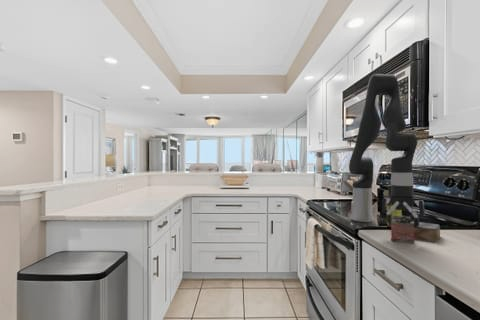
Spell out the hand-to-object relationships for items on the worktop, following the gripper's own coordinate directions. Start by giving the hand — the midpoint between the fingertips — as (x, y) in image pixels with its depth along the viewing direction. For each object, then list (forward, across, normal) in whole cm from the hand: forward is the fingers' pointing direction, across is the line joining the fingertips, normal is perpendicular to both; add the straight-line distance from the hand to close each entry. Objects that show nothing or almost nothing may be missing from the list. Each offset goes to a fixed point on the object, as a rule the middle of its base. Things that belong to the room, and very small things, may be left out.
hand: (402, 225), depth 104 cm
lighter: (+6, 0, 0) cm, 6 cm away
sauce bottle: (+6, +8, -22) cm, 25 cm away
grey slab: (+6, -5, -12) cm, 14 cm away
